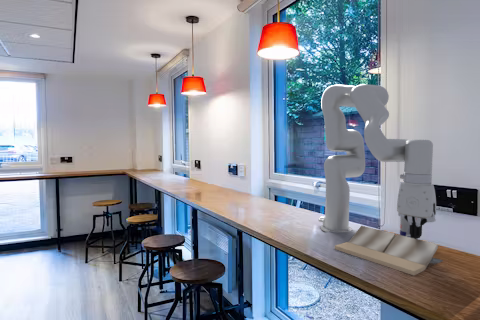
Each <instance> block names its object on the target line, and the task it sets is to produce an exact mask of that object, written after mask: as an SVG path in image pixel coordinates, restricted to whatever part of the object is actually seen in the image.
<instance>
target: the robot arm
mask: <svg viewBox="0 0 480 320" xmlns="http://www.w3.org/2000/svg"><path fill="white" fill-rule="evenodd" d="M389 98H390V95H389V91H388V90H387V89H386V88H385V87H384V86H383V85H377V84H366V83H363V84H358V85H356V86H355V85H347V84H334V85H330V86H328V87H326V88H325V90H324V91H323V93H322V96H321V99H320V100H321V101H320V103H321V105H320V106H321V110H322V115H323V119H324V132H325V145H326V148H327V149H328V150H329V151H331V152H335V153H346V154H335V155H330V156H328V157H327V158H326V159H325V161H324V163H323V170H324V171H323V172H324V176H325V204H324V205H325V207H324V209H325V210H324V211H325V212H324V216H320V217H319V219H318V222H319V223H322V225H321V226H320V229H321V231H323V232H324V233H327V232H332V233H349V232H352V231H353V227H351V226H349V221H350V195H351V193H350V192H351V191H350V186H349V183H348V181H347V179H348V178H359V177H361V176H362V175H364V172H365V171H366V153H365V152H366V151H365V145H366V147H367V148H368V150H369V151H370V153H371V154H372V156H373V157H374V158H375V159H376V160H377V161H379V162H382V163H403V162H404V163H403V164H404V165H403V166H404V167H403V168H404V169H403V170H404V171H403V174H400V175H399V178H400V179H402V180H403V182H400V185H399V190H398V194H397V202H396V211H397V213H398V214H397V215H398V216H399V217H400V216H401V217H403V218H405V219H406V220H407V222H408V224H409V225H410V234H411V236H410V237H411V238H414V239H418V240H419V239H420V238H421V237H422V235H423V226H424V225H425V224H427V223H434V222H436V220H437V219H436V215H437V197H436V189H435V186H434V184H432V181H433V179H432V178H433V157H434V156H433V155H434V154H433V152H434V144H433V142H432V141H431V140H429V139H407V138H404V139H402V138H401V139H400V138H387V137H386V135H385V134H384V133H383V131H382V130H381V128H380V127H381V125H383V124H384V123H386V122H387V120H388V119H389V118H390V113H389V112H390V111H389V110H388V108H387V107H386V105H387V104H388V102H389ZM341 107H345V108H346V107H347V108H355V109H356V111H357V112H358V115H359V116H360V117H361V119H362V121H363V122H364V125H365V126H364V130H363V134H361V132H360V131H358V130H356V129H348V128H347V121H346V116H345V114H344V112H343V110H342V109H341ZM362 135H363V136H362ZM416 217H417V221H416Z"/></svg>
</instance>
